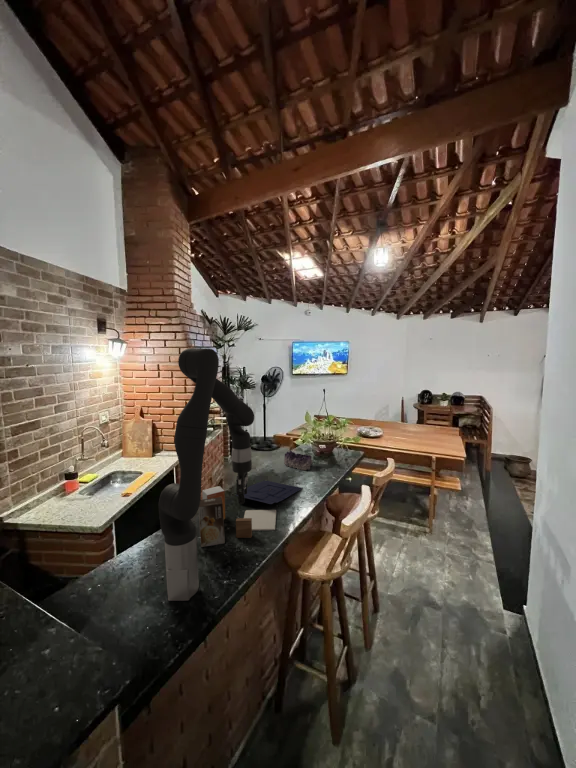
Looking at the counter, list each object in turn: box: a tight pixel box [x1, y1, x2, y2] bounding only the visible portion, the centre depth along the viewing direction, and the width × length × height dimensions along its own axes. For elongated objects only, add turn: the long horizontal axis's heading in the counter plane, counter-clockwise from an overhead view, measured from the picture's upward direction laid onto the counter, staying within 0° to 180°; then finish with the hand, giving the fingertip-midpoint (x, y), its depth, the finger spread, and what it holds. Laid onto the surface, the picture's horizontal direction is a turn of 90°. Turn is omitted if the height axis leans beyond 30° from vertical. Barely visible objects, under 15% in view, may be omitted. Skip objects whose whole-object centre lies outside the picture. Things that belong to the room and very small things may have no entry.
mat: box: [243, 509, 277, 532], centre depth 142 cm, size 16×14×1 cm
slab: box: [235, 517, 253, 539], centre depth 130 cm, size 2×6×7 cm, turn 90°
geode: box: [283, 450, 313, 471], centre depth 207 cm, size 20×12×10 cm, turn 60°
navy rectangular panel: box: [235, 479, 303, 505], centre depth 167 cm, size 24×30×4 cm
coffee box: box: [198, 497, 226, 548], centre depth 126 cm, size 9×6×16 cm
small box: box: [201, 485, 226, 520], centre depth 144 cm, size 8×6×13 cm
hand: (243, 498), depth 129 cm, fingers open, 8 cm apart
